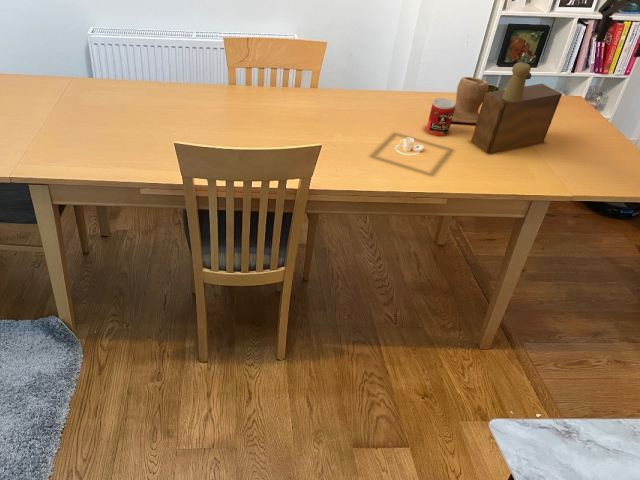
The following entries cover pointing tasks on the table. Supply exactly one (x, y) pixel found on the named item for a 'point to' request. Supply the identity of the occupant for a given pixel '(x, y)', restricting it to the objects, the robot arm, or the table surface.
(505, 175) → the table surface
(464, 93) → the tan brown vase
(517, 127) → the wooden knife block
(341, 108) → the table surface
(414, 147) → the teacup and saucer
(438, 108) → the canned food
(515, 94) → the cork
